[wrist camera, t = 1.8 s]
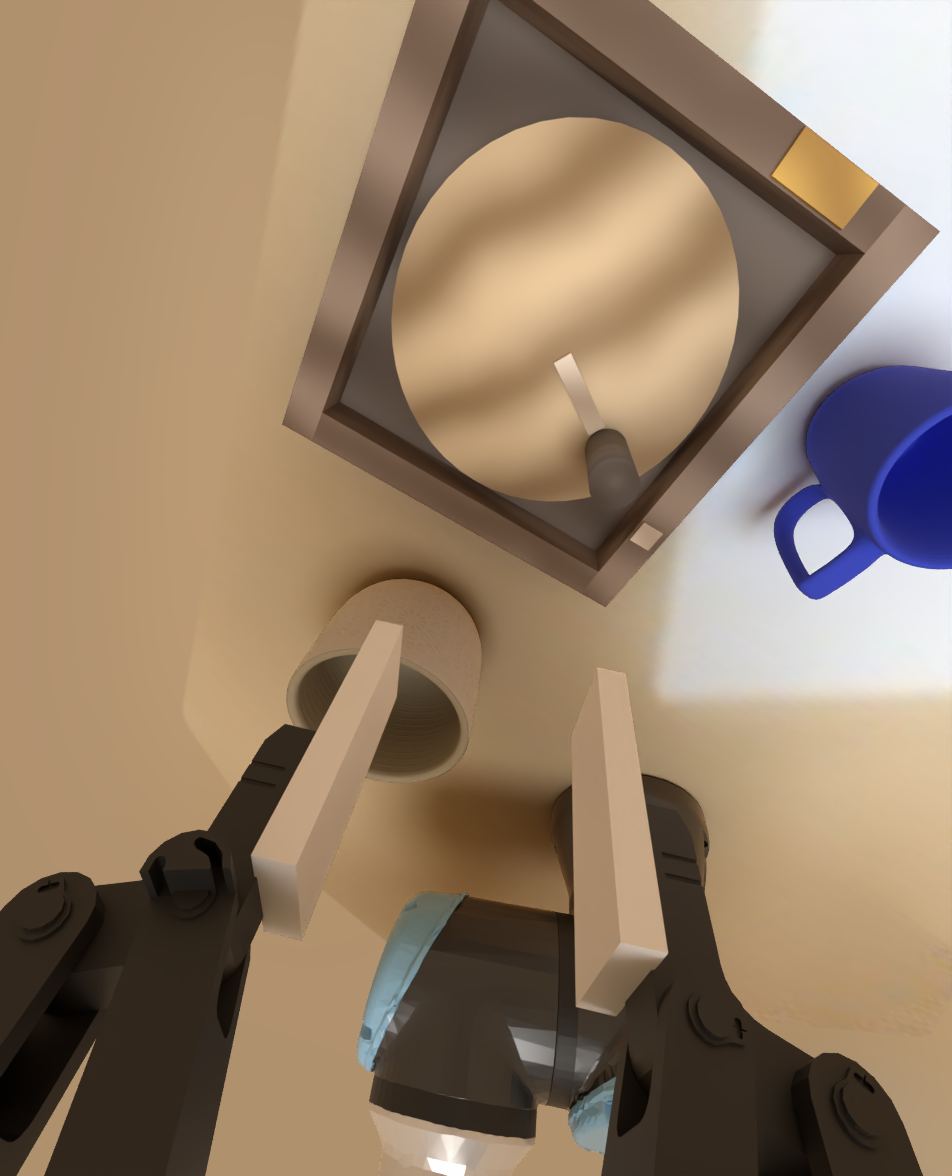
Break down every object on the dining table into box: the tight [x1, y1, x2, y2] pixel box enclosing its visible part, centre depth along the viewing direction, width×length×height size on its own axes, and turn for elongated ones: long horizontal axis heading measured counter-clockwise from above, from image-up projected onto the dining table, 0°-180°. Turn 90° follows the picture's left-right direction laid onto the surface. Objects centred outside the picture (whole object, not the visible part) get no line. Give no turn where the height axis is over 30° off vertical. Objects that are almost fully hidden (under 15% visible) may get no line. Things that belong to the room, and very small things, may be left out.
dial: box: [391, 117, 739, 509], centre depth 26 cm, size 18×18×8 cm
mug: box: [774, 366, 952, 600], centre depth 27 cm, size 8×12×10 cm
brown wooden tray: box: [282, 0, 940, 607], centre depth 28 cm, size 24×24×4 cm
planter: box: [287, 579, 482, 783], centre depth 38 cm, size 12×12×11 cm
